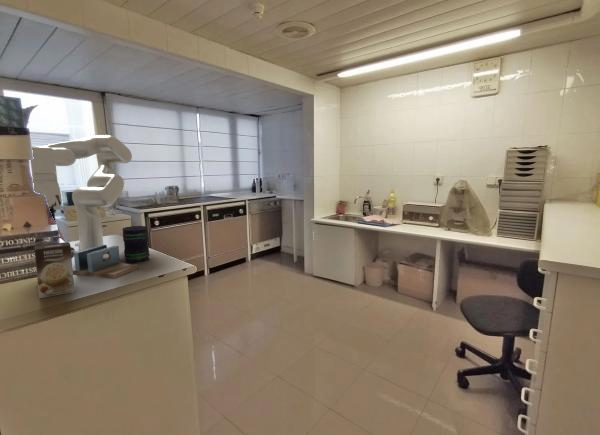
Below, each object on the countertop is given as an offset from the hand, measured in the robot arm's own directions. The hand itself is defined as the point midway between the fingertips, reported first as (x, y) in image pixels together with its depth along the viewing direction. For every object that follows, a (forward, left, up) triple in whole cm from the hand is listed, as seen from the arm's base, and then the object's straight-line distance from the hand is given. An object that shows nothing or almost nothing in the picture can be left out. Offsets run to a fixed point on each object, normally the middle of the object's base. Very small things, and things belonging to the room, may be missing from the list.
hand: (50, 223), depth 121 cm
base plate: (+25, 0, -18) cm, 31 cm away
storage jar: (+27, +15, -18) cm, 36 cm away
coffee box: (+28, -21, -18) cm, 39 cm away
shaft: (+16, 0, -15) cm, 22 cm away
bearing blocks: (+22, 0, -17) cm, 28 cm away
